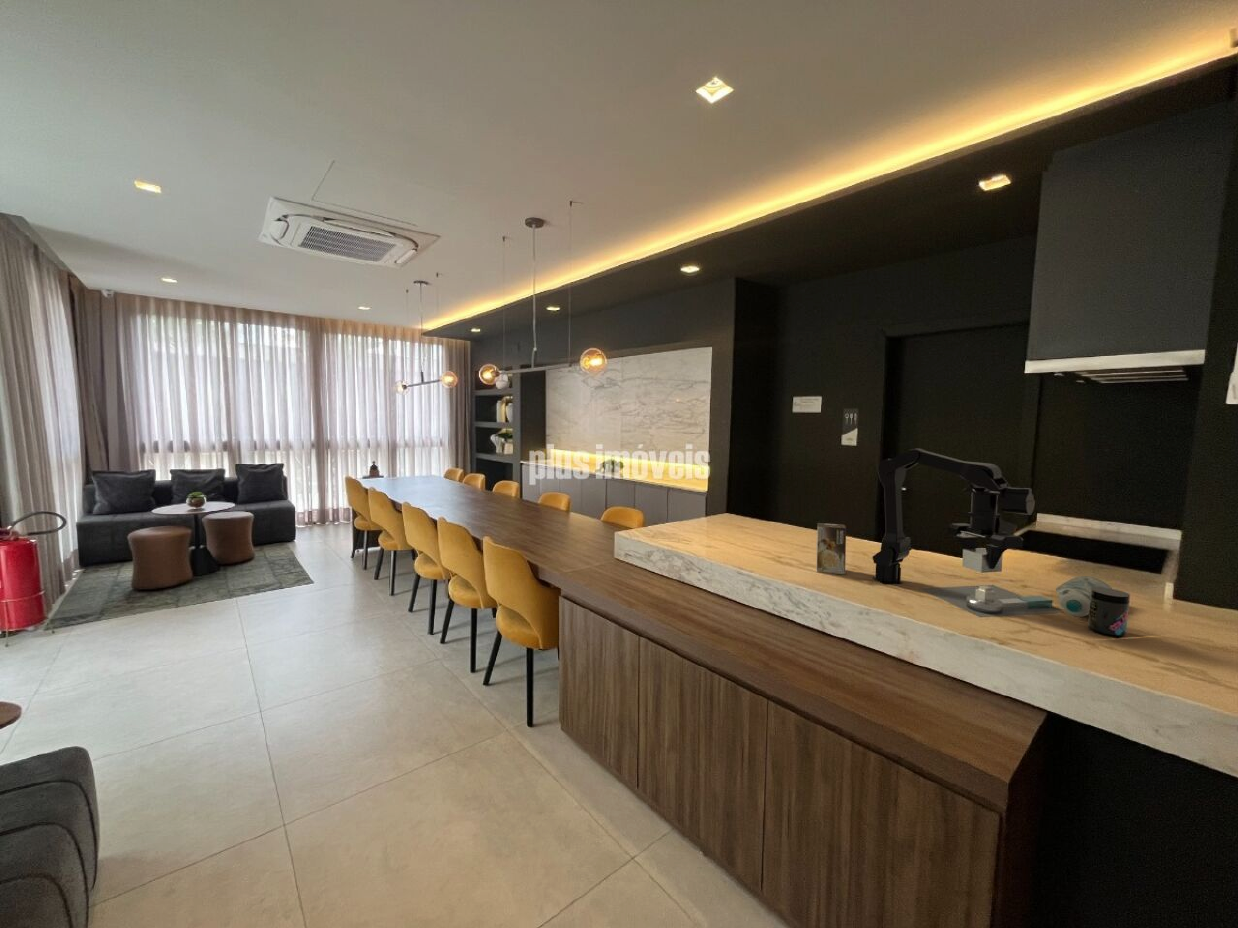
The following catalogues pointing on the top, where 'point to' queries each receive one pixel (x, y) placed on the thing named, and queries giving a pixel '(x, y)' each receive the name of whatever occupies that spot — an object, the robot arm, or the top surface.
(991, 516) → the robot arm
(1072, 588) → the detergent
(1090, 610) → the supplement container
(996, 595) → the tool mat
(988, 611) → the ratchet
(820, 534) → the coffee box
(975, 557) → the grey block
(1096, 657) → the top surface
